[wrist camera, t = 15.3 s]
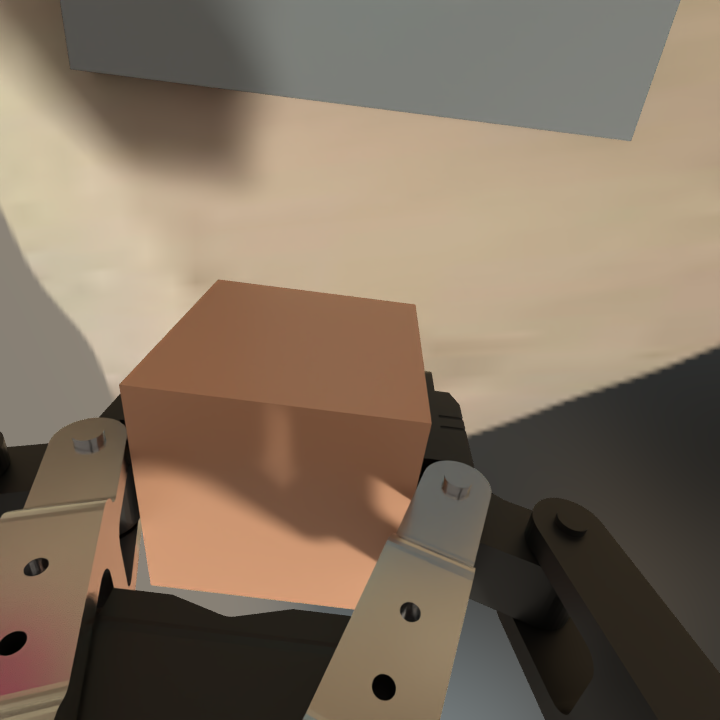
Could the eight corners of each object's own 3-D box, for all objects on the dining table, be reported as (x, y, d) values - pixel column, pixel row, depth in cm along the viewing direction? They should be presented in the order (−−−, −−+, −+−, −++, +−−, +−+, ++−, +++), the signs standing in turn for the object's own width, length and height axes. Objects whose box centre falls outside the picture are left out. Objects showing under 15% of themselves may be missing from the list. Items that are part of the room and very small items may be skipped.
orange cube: (218, 279, 12) (118, 384, 7) (415, 304, 12) (432, 423, 8) (223, 436, 14) (150, 584, 10) (386, 456, 14) (387, 613, 10)
